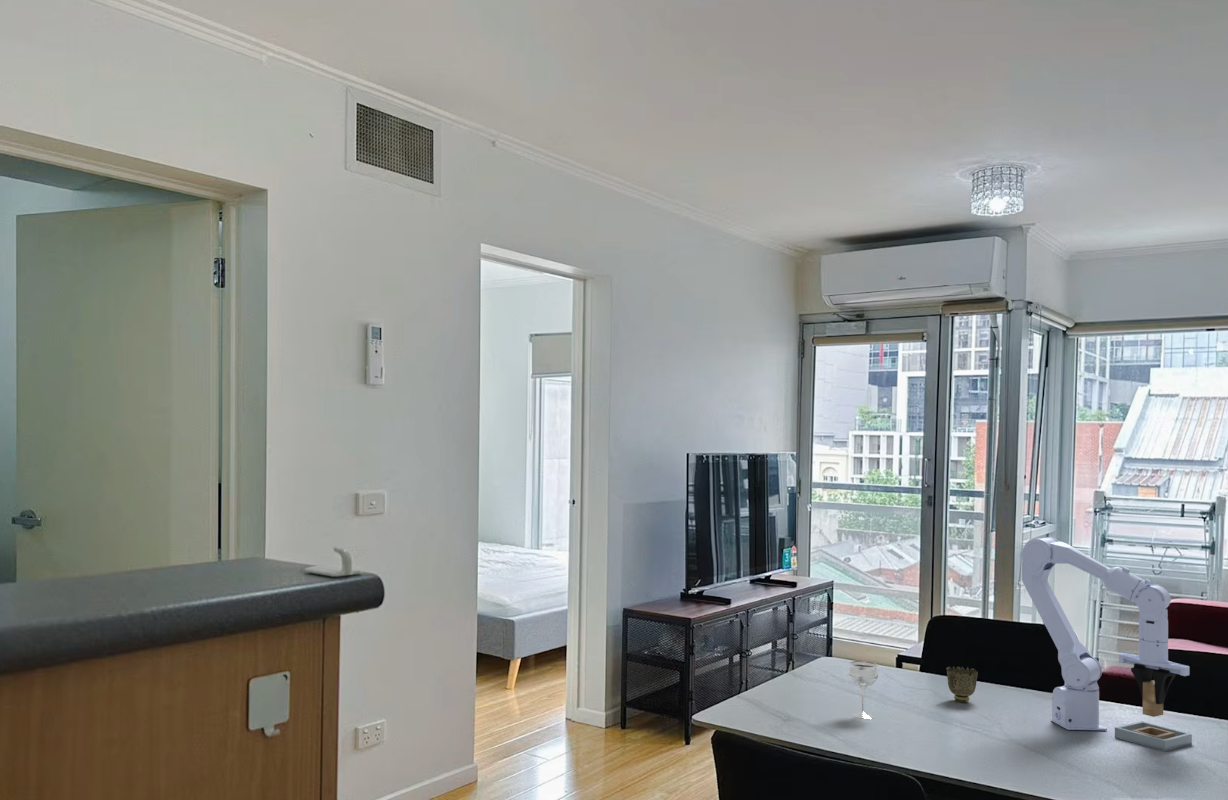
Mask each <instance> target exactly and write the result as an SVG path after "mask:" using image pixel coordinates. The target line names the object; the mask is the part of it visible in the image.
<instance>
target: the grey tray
mask: <svg viewBox="0 0 1228 800" xmlns="http://www.w3.org/2000/svg"><path fill="white" fill-rule="evenodd" d="M1114 738H1115V739H1120V740H1122V741H1123V740H1124V741H1126V742H1131V743H1134V744H1138V745H1141V746H1145V747H1149V748H1151V749H1155V750H1159V751H1163V752H1168V751H1171V750H1175V749H1179V748H1183V747H1188V746H1190V745H1192V744H1193V741H1192V740H1193V739H1192V738H1193V734H1192V733H1190V732H1185V731H1182V730H1181V731H1180V730H1178V729H1173V728H1169V727H1166V726H1163V725H1157V724H1154V723H1150V722H1146V721H1142V720H1140V721H1137V722H1132V723H1128V724H1123V725H1119V726H1115V727H1114Z"/></svg>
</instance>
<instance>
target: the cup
mask: <svg viewBox="0 0 1228 800" xmlns="http://www.w3.org/2000/svg"><path fill="white" fill-rule="evenodd" d="M945 670H946V676H947V683H948V689H949V691H950V693H952V694H953V698H954V700H955V701H956V702H958V703H965V704H966V703H968V702H969V701H970V697H971V696H972V695H974V693H975V691H976V687H977V683H978V681H977V680H978V673H979V672H978V671H977V670H976V669H975V668H969V667H967V668H966V669H965V668H964V667H963V666H961V667H960V666H957V667H955V666H952V667H951V666H948V667H946V668H945Z"/></svg>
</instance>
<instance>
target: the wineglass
mask: <svg viewBox="0 0 1228 800" xmlns="http://www.w3.org/2000/svg"><path fill="white" fill-rule="evenodd" d="M878 667H879V664H877V663H876V662H872V661H867V660H852V661H851V660H850V661H849V668H848V676H849V678H850V680H851V681H852V682H853V683H854V684H856V685H857V686H858V687H859V688H860V689H861V690H860V691H861V694H860V695H861V711H858V712H852V713H851V716H853V717H854V718H857V719H873V718H874V716H873V714H871V713H868V712H865V711H864V709H865V691H866V689H867V687H869V686H872V685H873V684H874V683H875V682H876V681H877V680H878V677H879V672H878V671H879V670H878Z"/></svg>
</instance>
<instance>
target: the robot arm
mask: <svg viewBox="0 0 1228 800" xmlns="http://www.w3.org/2000/svg"><path fill="white" fill-rule="evenodd" d="M1020 558H1021V581H1022V584H1023V586H1024V588H1025V589H1026V591H1027V594H1028V595H1029V597H1030V599H1031V600H1032V603H1033V605H1034V606H1035V609H1036V611H1037V612H1038V615H1039V617H1040V618H1041V620H1042V623H1043V625H1044V626H1045V627H1046V630H1047V632H1048V633H1049V636H1050V637H1051V639H1052V641H1053V643H1054V645H1055V647H1056V649H1057V652H1058V653H1057V659H1058V663H1059V665H1060V667H1061V676H1062V679H1063V681H1064V685H1062V686H1056V687H1054V689H1053V691H1052V694H1051V695H1052V696H1051V697H1052V699H1051V700H1052V701H1051V702H1052V703H1051V705H1052V706H1051V708H1052V709H1051V718H1050V721H1051V722H1053V723H1055V724H1056V725H1059V726H1060V727H1062V728H1064V729H1066V730H1069V731H1077V730H1078V731H1107V730H1108V729H1107V727H1105V726H1103V725H1101V724H1100V687H1099V684H1098V681H1099V679H1100V678H1101V676H1102V673H1103V670H1102V669H1103V668H1102V665H1101V663H1100V662H1099V661H1098V659H1097V658H1095V657H1094V656H1093V655H1091V653H1090V651H1089V650H1088V648H1087V647H1086V646H1085V645H1084V644H1083V643H1081V641H1080V639H1079V638H1078V636H1077V634H1076V633H1075V629H1073V626H1072V624H1071V623H1070V621H1069V620H1068V616H1067V615H1066V613H1065V612H1064V610H1063V607H1062V606H1061V604H1060V602H1059V600H1058V599H1057V596H1056V595H1055V592H1054V591H1053V588H1052V586H1051V585H1050V583H1049V581H1048V578H1049V575H1050V573H1051V571H1052V568H1053V567H1054V566H1055V565H1056V564H1057V565H1058V564H1059V565H1062V564H1063V565H1064V564H1068V565H1071V566H1072V567H1075V568H1077V569H1079V570H1081V571H1083V572H1086V573H1087V574H1089V575H1092V577H1093V576H1094V577H1096V578H1098V579H1099V580H1102V582H1103V584H1104V588H1106V589H1107V590H1109V591H1110V592H1113V593H1114V594H1116V595H1118V596H1120V597H1122V598H1124V599H1126V600H1128V601H1130V602H1131V603H1135V605H1136V606H1137V608H1138V609H1139V615H1138V654H1137V655H1136V654H1131V653H1130V654H1129V653H1125V652H1124V653H1119V654H1118V662H1119V664H1127V665H1133V667H1131V668H1130V672H1131V673H1132V674H1133V677H1134V678H1135V681H1136V683H1137V684H1138V688H1139V691H1140V695H1141V698H1142V699H1141V700H1142V701H1143V682H1147V681H1152V678H1153V681H1155V698H1156V704H1163V705H1164V703H1165V699H1166V697H1167V693H1168V690H1169V687H1170V686H1171V684H1172V682H1173V680H1174V679H1175V678H1176V675H1180V676H1183V677H1187V676H1190V666H1189V665H1186V664H1181V663H1177V662H1173V661H1170V660H1169V618H1168V616H1169V614H1168V607H1169V606H1170V604H1171V595H1170V593H1169V590H1167V589H1166V588H1165V587H1163V586H1162V584H1159V583H1158V584H1157V583H1152V584H1151V582H1152V581H1151V580H1150V579H1148V578H1145V579H1144V578H1142V577H1140V576H1137V575H1136V574H1134V573H1132V572H1130V571H1131V569H1130V568H1128V567H1126V566H1123V567H1120V566H1114V567H1108V566H1107V565H1106V564H1103V563H1102V562H1100V561H1098V560H1096V559H1095V558H1093V557H1091V556H1090V555H1087V554H1086V553H1084V552H1082V551H1080V550H1079V549H1077V548H1075V547H1074V546H1072V545H1070V544H1069V543H1066V542H1063V541H1061V540H1060V541H1059V540H1058V539H1056V538H1055V537H1051V536H1045V537H1043V538H1032V539H1029V540H1027V542H1025V544H1024V546H1023V548H1022V549H1021V552H1020ZM1154 670H1155V671H1154Z"/></svg>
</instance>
